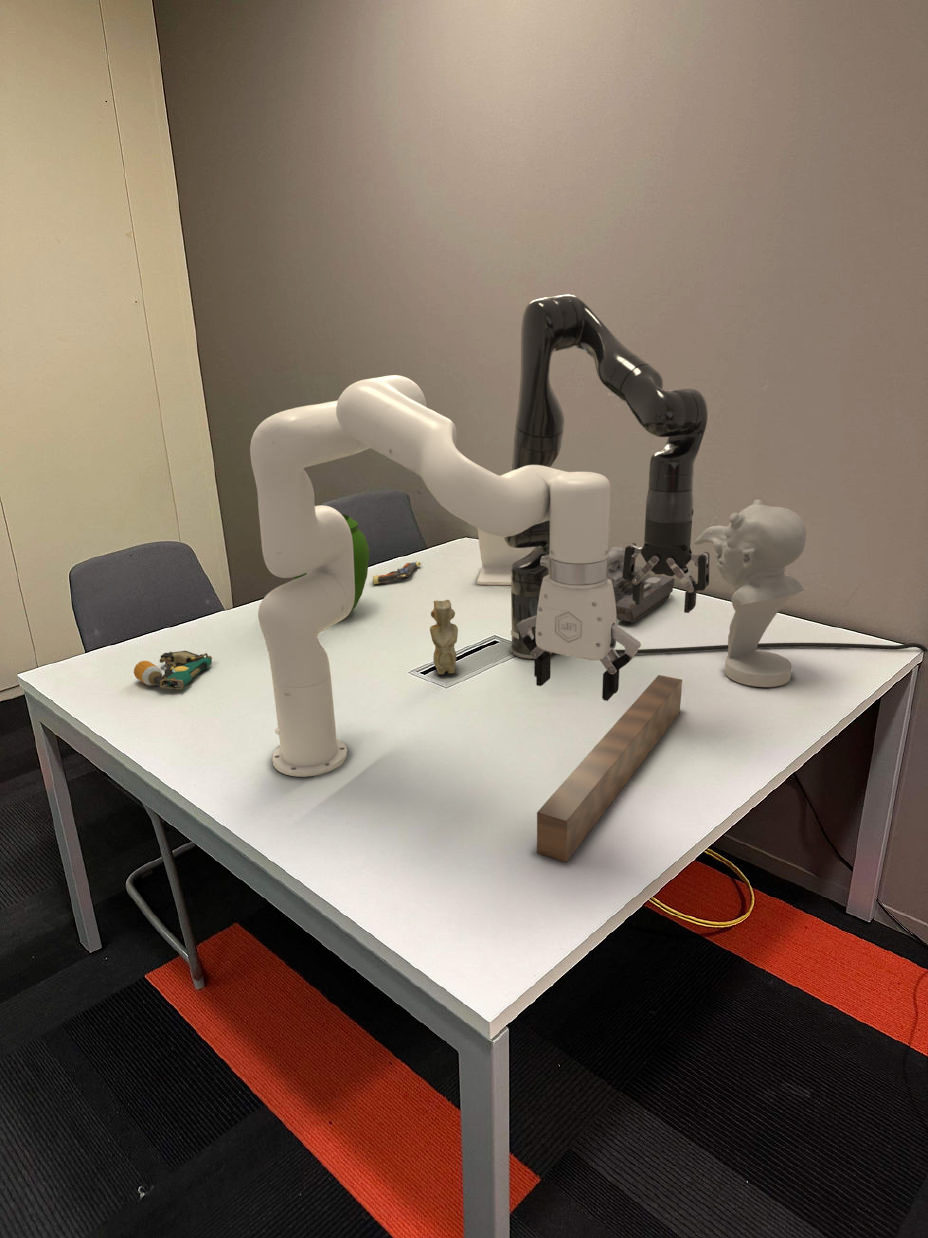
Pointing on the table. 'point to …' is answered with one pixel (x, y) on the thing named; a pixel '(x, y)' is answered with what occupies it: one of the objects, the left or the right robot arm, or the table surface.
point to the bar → (606, 770)
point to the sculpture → (444, 637)
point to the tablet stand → (497, 559)
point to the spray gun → (172, 669)
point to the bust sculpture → (757, 585)
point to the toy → (623, 589)
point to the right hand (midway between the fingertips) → (663, 607)
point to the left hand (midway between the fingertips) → (575, 689)
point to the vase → (357, 558)
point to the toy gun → (396, 573)
